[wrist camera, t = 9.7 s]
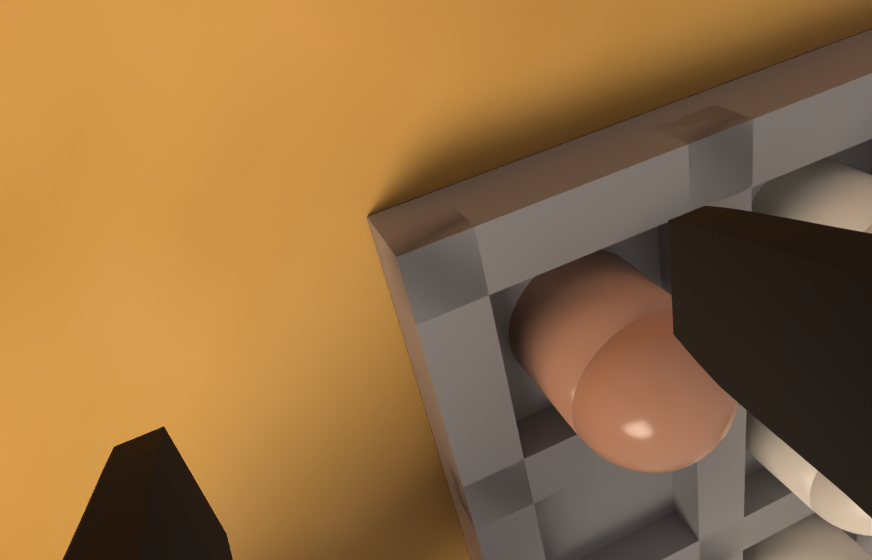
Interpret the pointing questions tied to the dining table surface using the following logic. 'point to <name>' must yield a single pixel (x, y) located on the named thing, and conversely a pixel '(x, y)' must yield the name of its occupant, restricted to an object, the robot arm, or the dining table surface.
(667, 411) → the terracotta egg
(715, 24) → the dining table surface
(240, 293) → the dining table surface
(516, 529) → the egg tray
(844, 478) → the robot arm
